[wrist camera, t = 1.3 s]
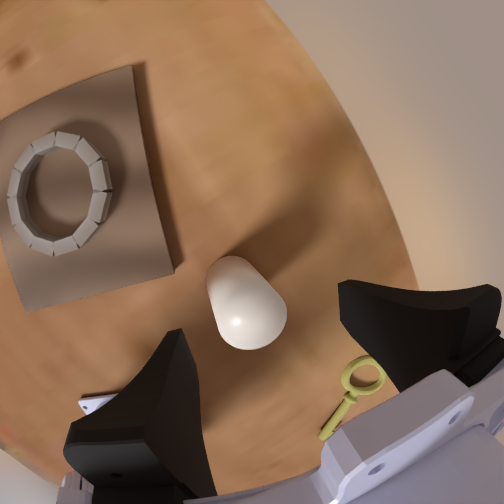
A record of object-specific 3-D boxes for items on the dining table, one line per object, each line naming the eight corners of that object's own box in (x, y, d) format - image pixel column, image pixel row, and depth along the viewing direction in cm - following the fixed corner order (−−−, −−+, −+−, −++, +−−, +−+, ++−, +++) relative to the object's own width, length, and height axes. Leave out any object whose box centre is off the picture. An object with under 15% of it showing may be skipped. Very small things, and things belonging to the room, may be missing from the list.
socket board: (174, 269, 21) (174, 280, 18) (30, 308, 18) (18, 320, 16) (133, 70, 16) (128, 56, 14) (-8, 132, 14) (-24, 128, 12)
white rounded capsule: (260, 296, 23) (291, 337, 16) (212, 309, 22) (227, 357, 16) (250, 249, 22) (281, 276, 15) (199, 263, 21) (209, 297, 14)
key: (311, 432, 30) (317, 444, 28) (346, 354, 28) (356, 365, 26) (354, 425, 32) (362, 434, 30) (391, 352, 30) (401, 360, 28)
